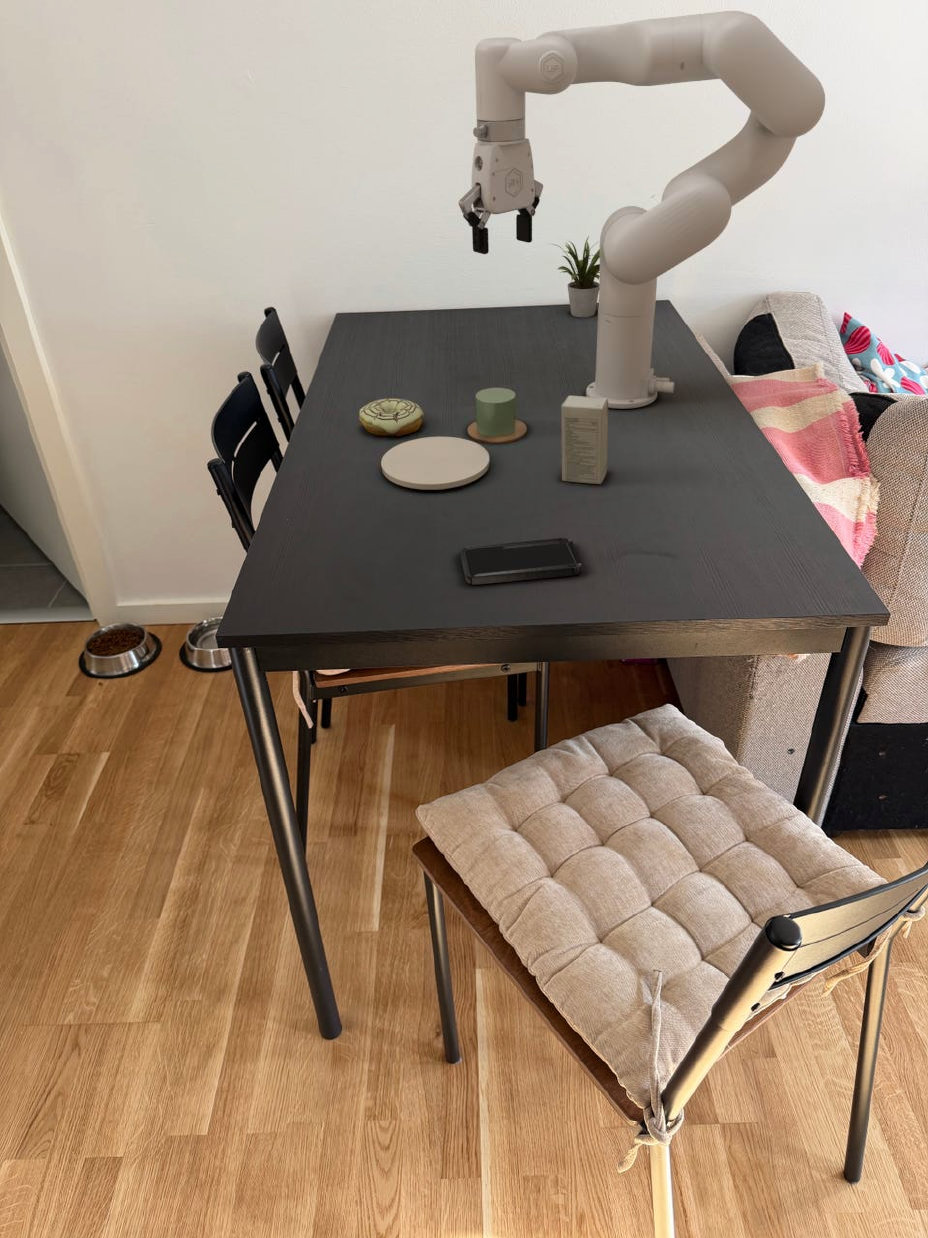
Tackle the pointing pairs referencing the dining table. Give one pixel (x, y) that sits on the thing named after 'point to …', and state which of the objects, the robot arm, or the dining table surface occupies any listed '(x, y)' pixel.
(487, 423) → the sage green cylinder
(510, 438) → the coaster
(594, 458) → the cosmetic box
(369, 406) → the decorated donut
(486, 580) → the phone
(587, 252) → the house plant
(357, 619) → the dining table surface
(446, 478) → the plate
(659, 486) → the dining table surface
